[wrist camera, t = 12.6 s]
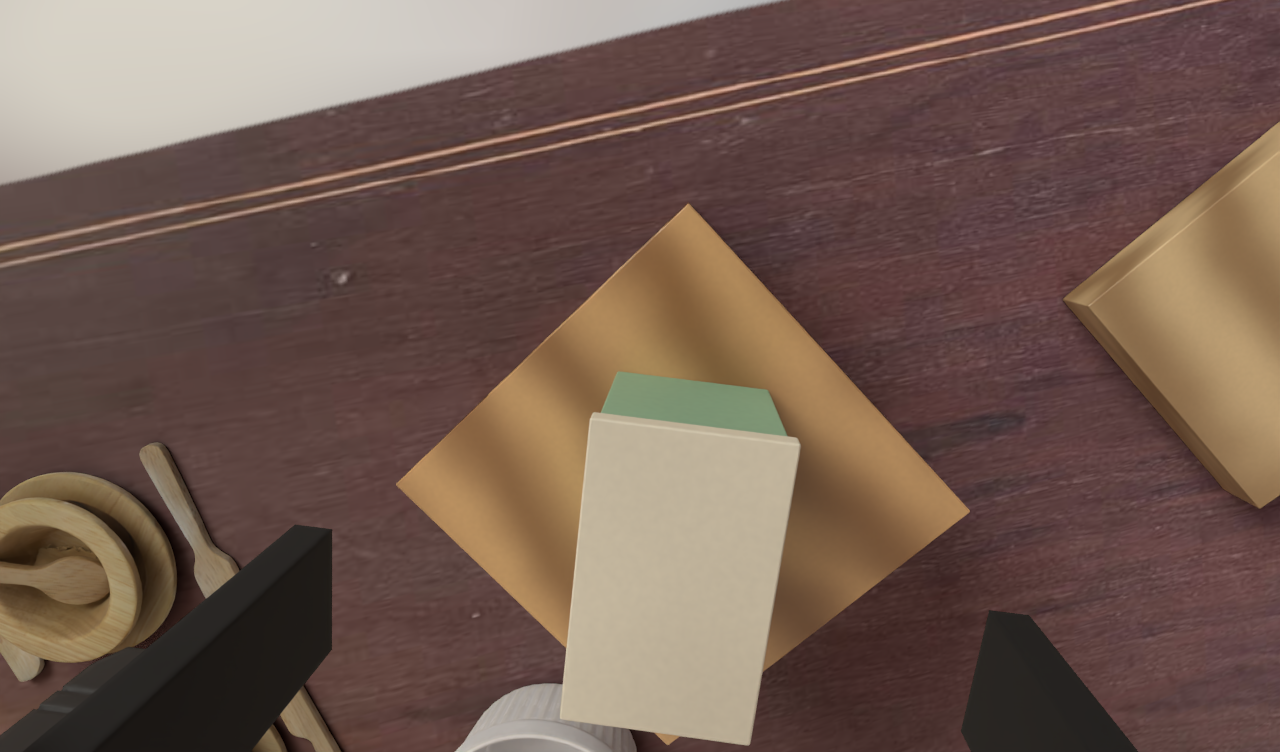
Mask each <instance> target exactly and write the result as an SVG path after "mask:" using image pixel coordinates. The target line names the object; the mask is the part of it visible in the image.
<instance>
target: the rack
mask: <svg viewBox="0 0 1280 752" xmlns="http://www.w3.org/2000/svg"><path fill="white" fill-rule="evenodd" d="M618 371H620V372H628V373H636V374H644V375H653V376H661V377H669V378H677V379H685V380H693V381H701V382H709V383H717V384H725V385H733V386H741V387H749V388H757V389H766V390H768V391H769V393H770V396H771V398H772V400H773V403H774V405H775V407H776V410H777V412H778V414H779V417H780V419H781V421H782V424H783V426H784V428H785V431H786V433H787V436H788V437H796V438H798V440H799V442H800V444H801V449H800V455H799V461H798V467H797V473H796V479H795V485H794V490H793V496H792V502H791V508H790V514H789V520H788V526H787V531H786V537H785V543H784V549H783V555H782V561H781V567H780V573H779V578H778V584H777V590H776V596H775V602H774V608H773V614H772V619H771V625H770V631H769V637H768V643H767V649H766V655H765V661H764V666H763V672H764V671H765V670H766V669H767V668H769V667H770V666H771V665H773V664H774V663H775V662H776V661H778V660H779V659H780V658H782V657H783V656H784V655H786V654H787V653H788V652H789V651H791V650H792V649H793V648H795V647H796V646H797V645H798V644H800V643H801V642H802V641H804V640H805V639H806V638H808V637H809V636H810V635H811V634H813V633H814V632H815V631H817V630H818V629H819V628H820V627H822V626H823V625H824V624H826V623H827V622H828V621H830V620H831V619H832V618H833V617H835V616H836V615H837V614H839V613H840V612H841V611H842V610H844V609H845V608H846V607H848V606H849V605H850V604H852V603H853V602H854V601H855V600H857V599H858V598H859V597H861V596H862V595H863V594H864V593H866V592H867V591H868V590H870V589H871V588H872V587H874V586H875V585H876V584H877V583H879V582H880V581H881V580H883V579H884V578H885V577H886V576H888V575H889V574H890V573H892V572H893V571H894V570H895V569H897V568H898V567H899V566H901V565H902V564H903V563H905V562H906V561H907V560H908V559H910V558H911V557H912V556H914V555H915V554H916V553H917V552H919V551H920V550H921V549H923V548H924V547H925V546H927V545H928V544H929V543H930V542H932V541H933V540H934V539H936V538H937V537H938V536H939V535H941V534H942V533H943V532H945V531H946V530H947V529H949V528H950V527H951V526H952V525H954V524H955V523H956V522H958V521H959V520H960V519H961V518H963V517H964V516H965V515H967V514H968V513H969V512H970V510H969V509H968V508H967V507H966V506H965V505H964V504H963V503H962V501H961V500H960V499H959V498H958V497H957V496H956V495H955V494H954V493H953V492H952V490H951V489H950V488H949V487H948V486H947V485H946V484H945V483H944V482H943V481H942V479H941V478H940V477H939V476H938V475H937V474H936V473H935V472H934V471H933V470H932V468H931V467H930V466H929V465H928V464H927V463H926V462H925V461H924V460H923V459H922V457H921V456H920V455H919V454H918V453H917V452H916V451H915V450H914V449H913V448H912V446H911V445H910V444H909V443H908V442H907V441H906V440H905V439H904V438H903V437H902V435H901V434H900V433H899V432H898V431H897V430H896V429H895V428H894V427H893V426H892V424H891V423H890V422H889V421H888V420H887V419H886V418H885V417H884V416H883V415H882V414H881V412H880V411H879V410H878V409H877V408H876V407H875V406H874V405H873V404H872V403H871V401H870V400H869V399H868V398H867V397H866V396H865V395H864V394H863V393H862V392H861V391H860V389H859V388H858V387H857V386H856V385H855V384H854V383H853V382H852V381H851V380H850V379H849V377H848V376H847V375H846V374H845V373H844V372H843V371H842V370H841V369H840V368H839V366H838V365H837V364H836V363H835V362H834V361H833V360H832V359H831V358H830V357H829V356H828V354H827V353H826V352H825V351H824V350H823V349H822V348H821V347H820V346H819V345H818V344H817V342H816V341H815V340H814V339H813V338H812V337H811V336H810V335H809V334H808V333H807V331H806V330H805V329H804V328H803V327H802V326H801V325H800V324H799V323H798V322H797V321H796V319H795V318H794V317H793V316H792V315H791V314H790V313H789V312H788V311H787V310H786V309H785V307H784V306H783V305H782V304H781V303H780V302H779V301H778V300H777V299H776V298H775V296H774V295H773V294H772V293H771V292H770V291H769V290H768V289H767V288H766V287H765V286H764V284H763V283H762V282H761V281H760V280H759V279H758V278H757V277H756V276H755V275H754V274H753V272H752V271H751V270H750V269H749V268H748V267H747V266H746V265H745V264H744V263H743V261H742V260H741V259H740V258H739V257H738V256H737V255H736V254H735V253H734V252H733V251H732V249H731V248H730V247H729V246H728V245H727V244H726V243H725V242H724V241H723V240H722V239H721V237H720V236H719V235H718V234H717V233H716V232H715V231H714V230H713V229H712V228H711V226H710V225H709V224H708V223H707V222H706V221H705V220H704V219H703V218H702V217H701V216H700V214H699V213H698V212H697V211H696V210H695V209H694V208H693V207H692V206H691V205H690V204H689V203H687V204H686V205H685V206H684V207H683V208H682V209H681V210H680V211H679V212H678V213H677V214H676V215H675V216H674V217H672V218H671V219H670V220H669V221H668V222H667V223H666V224H665V225H664V226H663V227H662V228H661V229H660V230H659V231H658V232H657V233H656V234H655V235H654V236H653V237H652V238H651V239H650V240H649V241H647V242H646V243H645V244H644V245H643V246H642V247H641V248H640V249H639V250H638V251H637V252H636V253H635V254H634V255H633V256H632V257H631V258H630V259H629V260H628V261H627V262H626V263H625V264H624V265H623V266H621V267H620V268H619V269H618V270H617V271H616V272H615V273H614V274H613V275H612V276H611V277H610V278H609V279H608V280H607V281H606V282H605V283H604V284H603V285H602V286H601V287H600V288H599V289H598V290H596V291H595V292H594V293H593V294H592V295H591V296H590V297H589V298H588V299H587V300H586V301H585V302H584V303H583V304H582V305H581V306H580V307H579V308H578V309H577V310H576V311H575V312H574V313H573V314H571V315H570V316H569V317H568V318H567V319H566V320H565V321H564V322H563V323H562V324H561V325H560V326H559V327H558V328H557V329H556V330H555V331H554V332H553V333H552V334H551V335H550V336H549V337H548V338H546V339H545V340H544V341H543V342H542V343H541V344H540V345H539V346H538V347H537V348H536V349H535V350H534V351H533V352H532V353H531V354H530V355H529V356H528V357H527V358H526V359H525V360H524V361H523V362H521V363H520V364H519V365H518V366H517V367H516V368H515V369H514V370H513V371H512V372H511V373H510V374H509V375H508V376H507V377H506V378H505V379H504V380H503V381H502V382H501V383H500V384H499V385H498V386H496V387H495V388H494V389H493V390H492V391H491V392H490V393H489V394H488V395H487V396H486V397H485V398H484V399H483V400H482V401H481V402H480V403H479V404H478V405H477V406H476V407H475V408H474V409H473V410H472V411H471V412H470V413H469V414H467V415H466V416H465V417H464V418H463V419H462V420H461V421H460V422H459V423H458V424H457V425H456V426H455V427H454V428H453V429H452V430H451V431H450V432H449V433H448V434H447V435H446V436H445V437H444V438H443V439H442V440H441V441H440V442H439V443H438V444H437V445H436V446H435V447H434V448H433V449H432V450H431V451H430V452H429V453H428V454H426V455H425V456H424V457H423V458H422V459H421V460H420V461H419V462H418V463H417V464H416V465H415V466H414V467H413V468H412V469H411V470H410V471H409V472H408V473H407V474H406V475H405V476H404V477H403V478H402V479H401V480H400V481H399V482H398V483H397V484H396V485H397V486H398V487H399V488H400V489H401V490H402V491H403V492H404V493H405V494H406V495H407V496H408V497H409V498H410V499H411V500H412V501H413V502H414V503H415V504H417V505H418V506H419V507H420V508H421V509H422V510H423V511H424V512H425V513H426V514H427V515H428V516H429V517H430V518H431V519H432V520H433V521H434V522H435V523H436V524H437V525H438V526H439V527H441V528H442V529H443V530H444V531H445V532H446V533H447V534H448V535H449V536H450V537H451V538H452V539H453V540H454V541H455V542H456V543H457V544H458V545H459V546H460V547H461V548H462V549H463V550H464V551H466V552H467V553H468V554H469V555H470V556H471V557H472V558H473V559H474V560H475V561H476V562H477V563H478V564H479V565H480V566H481V567H482V568H483V569H484V570H485V571H486V572H487V573H488V574H489V575H491V576H492V577H493V578H494V579H495V580H496V581H497V582H498V583H499V584H500V585H501V586H502V587H503V588H504V589H505V590H506V591H507V592H508V593H509V594H510V595H511V596H512V597H513V598H514V599H516V600H517V601H518V602H519V603H520V604H521V605H522V606H523V607H524V608H525V609H526V610H527V611H528V612H529V613H530V614H531V615H532V616H533V617H534V618H535V619H536V620H537V621H538V622H539V623H541V624H542V625H543V626H544V627H545V628H546V629H547V630H548V631H549V632H550V633H551V634H552V635H553V636H554V637H555V638H556V639H557V640H558V641H559V642H560V643H561V644H562V645H563V646H565V647H566V648H567V638H568V628H569V618H570V608H571V599H572V589H573V579H574V569H575V559H576V549H577V539H578V530H579V520H580V510H581V500H582V490H583V480H584V471H585V461H586V451H587V441H588V431H589V421H590V418H591V416H592V414H593V413H594V412H597V413H601V411H602V408H603V406H604V403H605V401H606V398H607V396H608V393H609V391H610V388H611V386H612V384H613V381H614V379H615V376H616V374H617V372H618ZM655 734H656V735H657V736H658V737H659V738H660V739H661V740H662V741H663V742H665V743H666V744H667V745H669V744H670V743H672V742H673V741H674V740H676V739H677V738H678V737H679V736H676V735H669V734H661V733H655Z"/></svg>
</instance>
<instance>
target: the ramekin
mask: <svg viewBox="0 0 1280 752" xmlns="http://www.w3.org/2000/svg"><path fill="white" fill-rule="evenodd" d="M562 687H563V684H556V683H553V684H547V683H543V684H533V685H530V686H525V687H522V688H520V689H517V690H514V691H512V692H510V693H509V694H506V695H504V696H503V697H502V698H500V699H499V700H497V701H496V702H494V703H493V704H492V706H491V707H490V708H489V709H487V710H486V711H485V712H484V714H483V715H482V716H481V718H480V719H479V720H478V722H477V723H476V725H475V726H474V728H473V729H472V731H471V732H470V734H469V735H468V737H467V739H466V740H465V742H464V743H463V744H462V745H461V746H460V747H459V748H458V749H457V750H456V751H455V752H637V749H636V745H635V742H634V740H633V737H632V734H631V732H630V731H629V729H626V728H618V727H611V726H604V725H597V724H590V723H583V722H576V721H568V720H562V719H560V707H561V697H562Z"/></svg>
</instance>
